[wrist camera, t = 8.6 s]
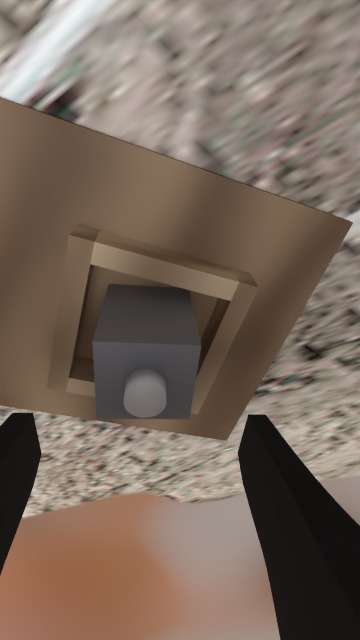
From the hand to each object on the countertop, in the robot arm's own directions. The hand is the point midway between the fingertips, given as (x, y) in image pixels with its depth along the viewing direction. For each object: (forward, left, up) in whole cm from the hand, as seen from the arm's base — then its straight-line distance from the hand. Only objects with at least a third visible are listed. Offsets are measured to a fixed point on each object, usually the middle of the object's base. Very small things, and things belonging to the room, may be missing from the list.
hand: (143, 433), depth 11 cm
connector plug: (0, 0, -7) cm, 7 cm away
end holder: (0, 0, -8) cm, 8 cm away
